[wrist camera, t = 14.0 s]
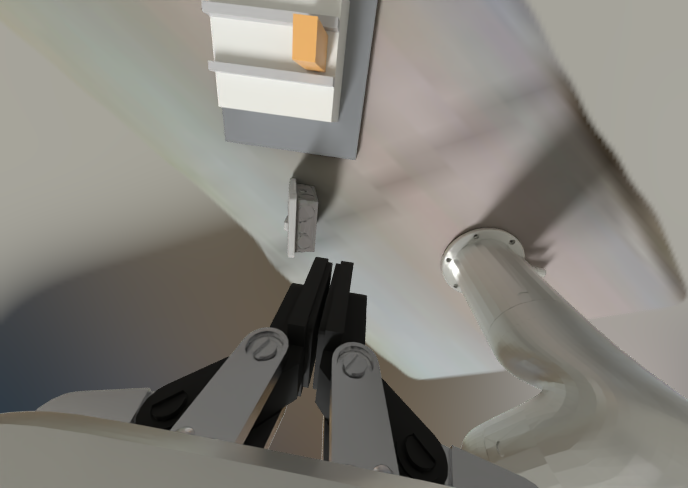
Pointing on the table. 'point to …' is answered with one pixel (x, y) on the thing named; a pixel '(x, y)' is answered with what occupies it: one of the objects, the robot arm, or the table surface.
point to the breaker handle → (309, 43)
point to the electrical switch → (301, 218)
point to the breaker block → (291, 74)
